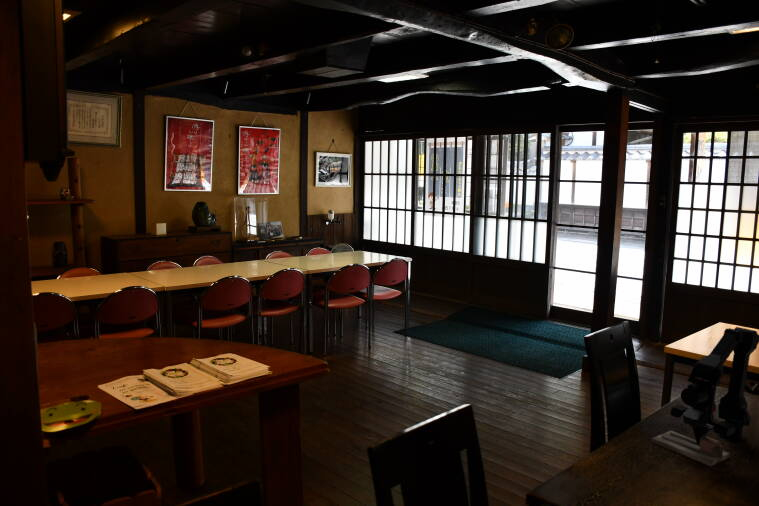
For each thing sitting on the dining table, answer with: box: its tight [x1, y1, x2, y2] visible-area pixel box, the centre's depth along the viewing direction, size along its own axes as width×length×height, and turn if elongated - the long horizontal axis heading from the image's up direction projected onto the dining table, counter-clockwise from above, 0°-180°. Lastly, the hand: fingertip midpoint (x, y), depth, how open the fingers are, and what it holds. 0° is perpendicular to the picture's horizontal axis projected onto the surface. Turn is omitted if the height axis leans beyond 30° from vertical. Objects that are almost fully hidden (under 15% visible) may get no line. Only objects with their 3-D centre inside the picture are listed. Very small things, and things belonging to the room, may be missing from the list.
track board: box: [651, 430, 731, 467], centre depth 199 cm, size 12×20×4 cm, turn 34°
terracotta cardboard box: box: [700, 436, 720, 454], centre depth 193 cm, size 4×4×4 cm
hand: (698, 444), depth 196 cm, fingers closed
